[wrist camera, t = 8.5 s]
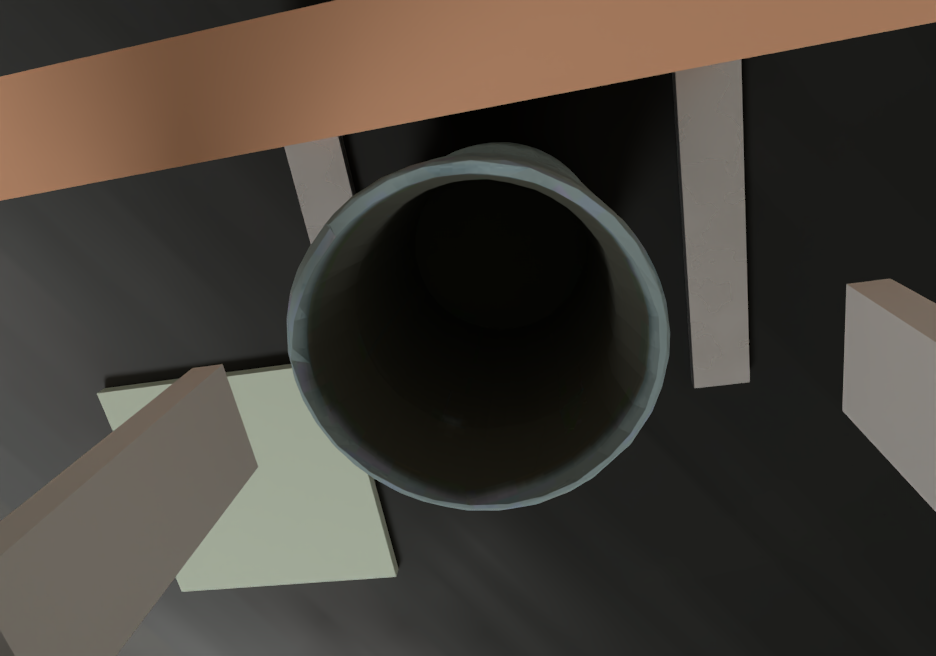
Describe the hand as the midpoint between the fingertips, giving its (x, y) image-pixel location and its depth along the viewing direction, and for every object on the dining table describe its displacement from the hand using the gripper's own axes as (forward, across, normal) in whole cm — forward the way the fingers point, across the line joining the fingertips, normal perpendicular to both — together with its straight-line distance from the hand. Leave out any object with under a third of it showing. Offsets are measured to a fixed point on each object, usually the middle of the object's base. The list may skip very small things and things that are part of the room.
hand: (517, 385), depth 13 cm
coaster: (+15, -16, -11) cm, 25 cm away
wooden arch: (+15, 0, +7) cm, 16 cm away
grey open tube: (+15, -1, 0) cm, 15 cm away
